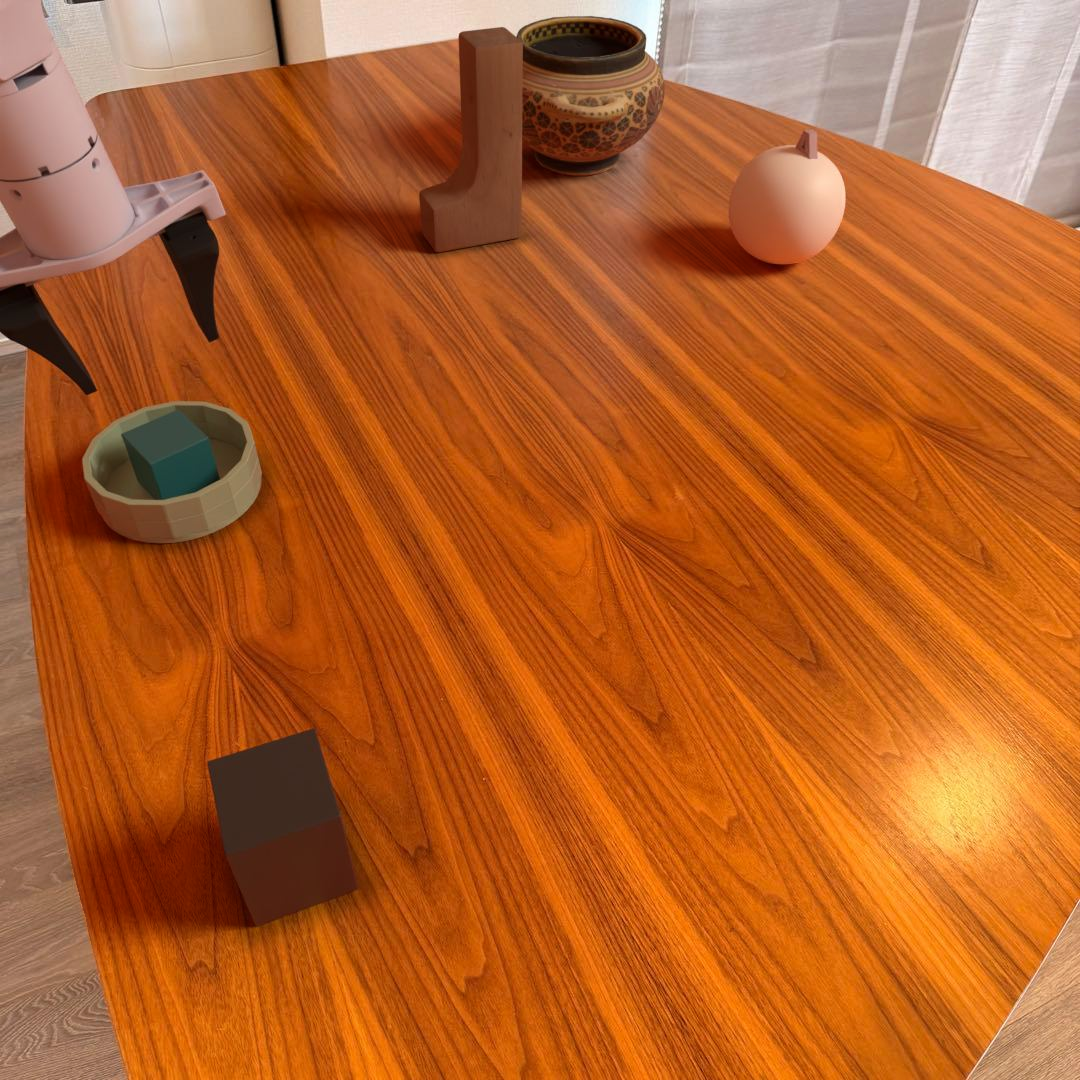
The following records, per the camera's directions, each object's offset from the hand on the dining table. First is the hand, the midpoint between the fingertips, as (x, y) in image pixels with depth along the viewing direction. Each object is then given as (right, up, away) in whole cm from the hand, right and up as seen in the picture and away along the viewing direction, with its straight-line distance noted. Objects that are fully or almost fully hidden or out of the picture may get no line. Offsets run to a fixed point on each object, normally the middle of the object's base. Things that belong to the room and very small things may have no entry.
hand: (149, 357), depth 59 cm
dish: (-2, -7, +9) cm, 12 cm away
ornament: (+46, +16, +35) cm, 60 cm away
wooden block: (+17, +19, +37) cm, 44 cm away
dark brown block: (+11, -27, -10) cm, 31 cm away
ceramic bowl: (+28, +31, +50) cm, 65 cm away
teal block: (-2, -7, +9) cm, 12 cm away
